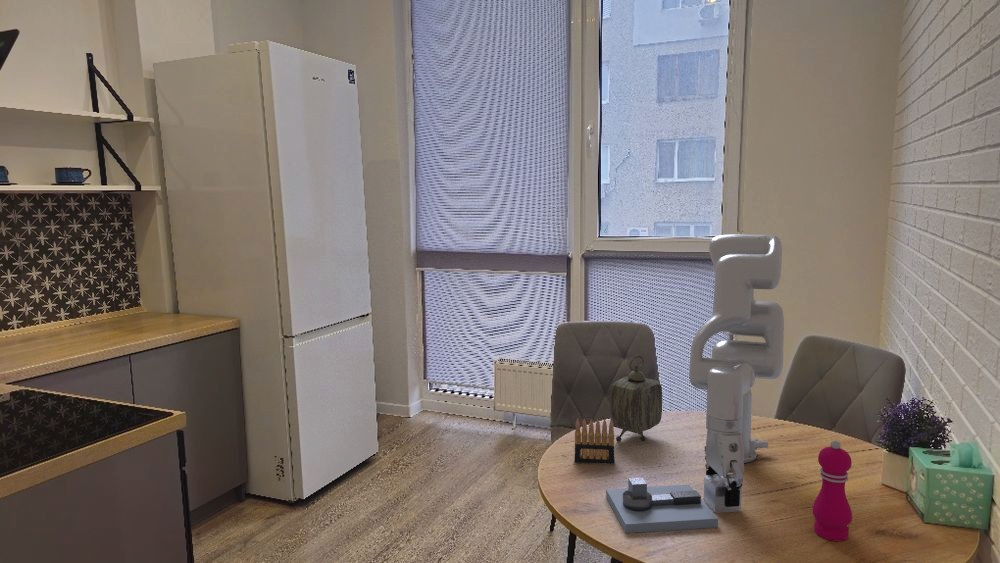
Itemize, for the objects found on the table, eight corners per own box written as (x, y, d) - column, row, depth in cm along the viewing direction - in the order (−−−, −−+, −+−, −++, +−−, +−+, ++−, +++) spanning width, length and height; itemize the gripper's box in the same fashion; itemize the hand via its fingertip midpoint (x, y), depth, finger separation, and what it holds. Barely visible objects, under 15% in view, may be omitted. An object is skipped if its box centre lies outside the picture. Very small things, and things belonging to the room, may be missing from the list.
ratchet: (692, 494, 141) (693, 471, 140) (704, 507, 135) (704, 483, 134) (619, 498, 140) (619, 475, 139) (627, 512, 133) (627, 488, 133)
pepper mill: (804, 525, 130) (808, 435, 128) (836, 523, 131) (841, 433, 128) (824, 544, 123) (829, 448, 121) (859, 541, 124) (864, 446, 121)
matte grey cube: (728, 498, 143) (729, 473, 142) (740, 511, 137) (741, 485, 136) (703, 500, 142) (704, 475, 142) (714, 512, 136) (715, 487, 136)
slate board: (688, 492, 146) (688, 484, 146) (717, 527, 130) (718, 518, 130) (606, 497, 144) (606, 489, 144) (625, 533, 129) (625, 524, 128)
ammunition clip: (614, 461, 164) (614, 418, 163) (614, 464, 163) (614, 420, 161) (574, 459, 166) (574, 417, 165) (574, 462, 164) (574, 419, 163)
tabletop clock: (637, 428, 188) (638, 348, 185) (663, 436, 181) (664, 353, 178) (609, 442, 178) (609, 358, 175) (636, 450, 171) (637, 363, 168)
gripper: (759, 435, 129) (756, 513, 131) (723, 409, 146) (721, 478, 148) (725, 437, 128) (722, 515, 130) (692, 411, 145) (690, 480, 147)
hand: (722, 495), depth 139 cm, fingers open, 9 cm apart
